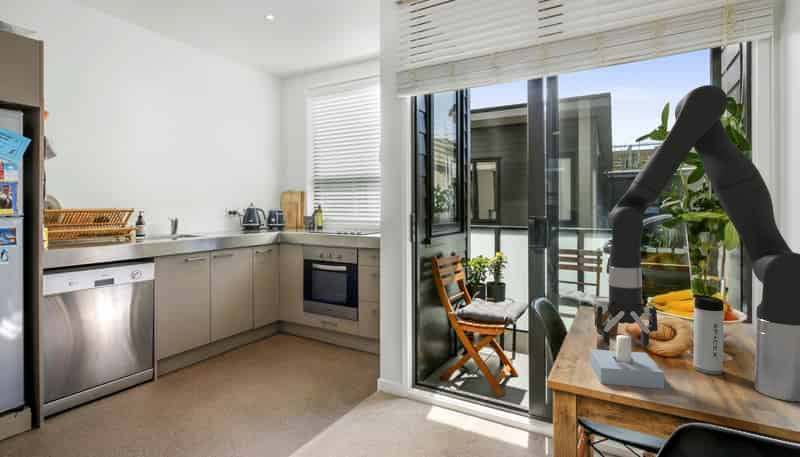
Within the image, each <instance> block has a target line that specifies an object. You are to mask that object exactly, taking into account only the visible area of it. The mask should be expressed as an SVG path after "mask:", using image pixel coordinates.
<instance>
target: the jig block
mask: <svg viewBox="0 0 800 457" xmlns="http://www.w3.org/2000/svg"><path fill="white" fill-rule="evenodd" d="M589 363H590V365H591V368H592V370H593V371H594V374H595V375H596V378H597V379H598V380H599V383H600V384H602V385H613V386H625V387H626V386H628V387H638V388H650V389H651V388H652V389H660V390H661V389H662V390H665V371H664V370H663V369H662V368H661V367H660V366H659V364H657V363H656V362H655V361H654V360H653V359H652V358H651V357H650V356H649V355H648V354H647V352H641V351H640V352H637V351H631V364H630V363H617V362H616V350H610V349H609V350H597V349H594V348H593V349H592V348H590V349H589Z"/></svg>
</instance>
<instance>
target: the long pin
mask: <svg viewBox="0 0 800 457" xmlns="http://www.w3.org/2000/svg"><path fill="white" fill-rule="evenodd" d="M615 347H616V350H615V351H616V362H617V363H630V364H631V352H632V337H631V336H629V335H622V334H617V335H616V346H615Z"/></svg>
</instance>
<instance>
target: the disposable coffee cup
mask: <svg viewBox="0 0 800 457" xmlns="http://www.w3.org/2000/svg"><path fill="white" fill-rule="evenodd" d="M591 302H592V305H593V312H594V313H593V314H595V310H596V305H597V304H599V305H600V306H608V304H609V296H595V297H593V299H592V301H591ZM610 315H611V314H610V313H609V312H608V311H606V312H605V314H602V324H604V323H605V322H606V321H607V319H608V317H609V316H610ZM619 324H620V323H618V322H617V323H616V324H615V325H614V326H612V328H611V329H610V330H609V332H610V337H612V336H618V330H619ZM595 328H596V333H597V334H599V335H602V330H601V329H598V328H597V327H596V326H595Z"/></svg>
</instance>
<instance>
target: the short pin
mask: <svg viewBox="0 0 800 457" xmlns="http://www.w3.org/2000/svg"><path fill="white" fill-rule="evenodd" d="M602 338H603V337H602V336H596V350H610V346H607V345H606V344H605V343H604V342H603V340H602Z"/></svg>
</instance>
